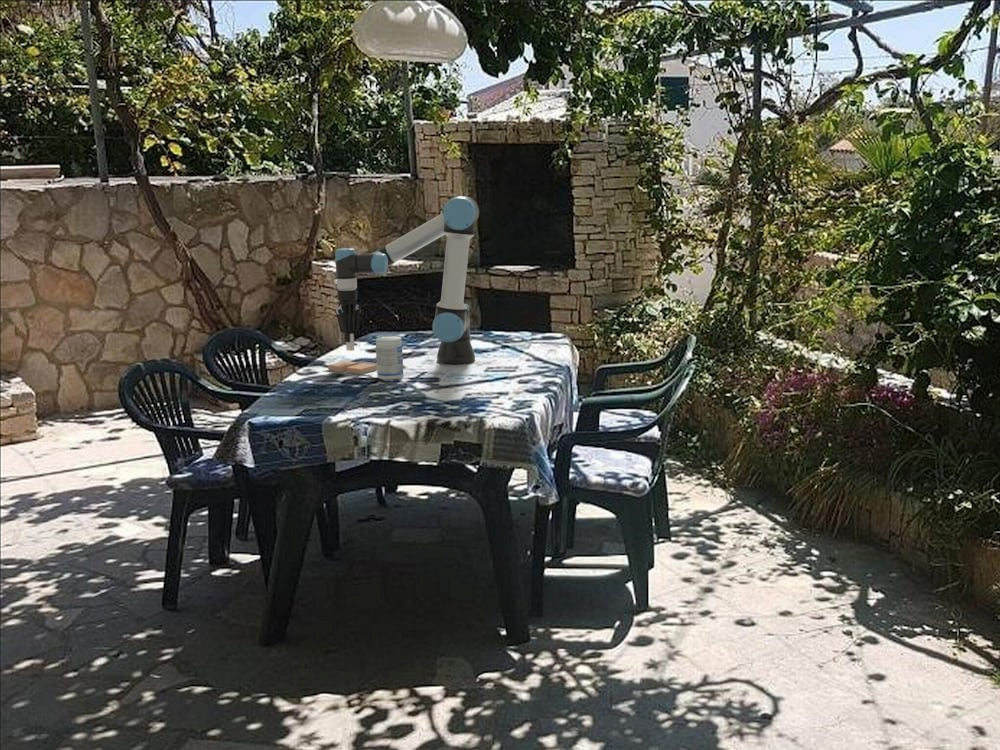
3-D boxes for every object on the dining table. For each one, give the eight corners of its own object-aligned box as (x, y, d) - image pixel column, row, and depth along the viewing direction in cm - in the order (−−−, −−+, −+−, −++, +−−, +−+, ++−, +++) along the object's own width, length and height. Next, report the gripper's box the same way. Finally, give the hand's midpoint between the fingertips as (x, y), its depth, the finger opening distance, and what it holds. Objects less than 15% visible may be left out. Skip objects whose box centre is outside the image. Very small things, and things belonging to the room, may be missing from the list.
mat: (394, 366, 343) (394, 365, 343) (356, 377, 325) (356, 376, 325) (361, 362, 352) (361, 361, 352) (322, 372, 334) (322, 371, 334)
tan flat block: (357, 362, 340) (341, 366, 332) (358, 367, 340) (342, 371, 333) (344, 360, 343) (328, 364, 336) (344, 365, 344) (328, 370, 336)
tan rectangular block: (376, 364, 335) (360, 369, 327) (376, 369, 335) (361, 374, 328) (362, 363, 338) (346, 367, 331) (362, 368, 339) (346, 372, 331)
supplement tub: (405, 379, 319) (403, 339, 316) (378, 381, 317) (376, 341, 314) (401, 374, 328) (400, 335, 325) (376, 375, 326) (374, 336, 323)
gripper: (351, 287, 343) (354, 346, 348) (327, 290, 332) (331, 352, 337) (365, 287, 339) (368, 348, 344) (342, 291, 328) (346, 353, 333)
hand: (350, 350), depth 341 cm, fingers closed
